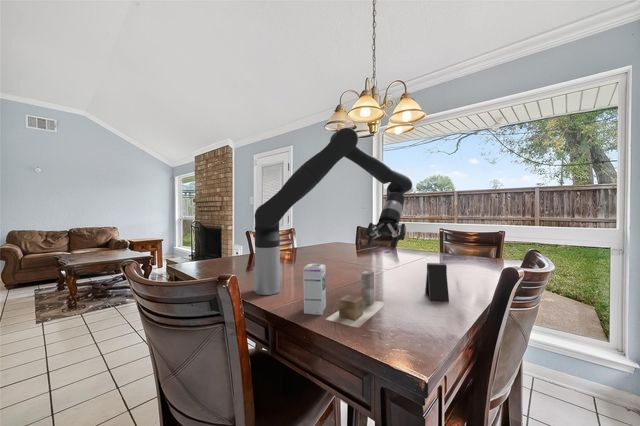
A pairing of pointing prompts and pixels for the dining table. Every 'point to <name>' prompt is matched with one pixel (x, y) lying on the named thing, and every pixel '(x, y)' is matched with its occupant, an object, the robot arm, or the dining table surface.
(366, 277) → the pale base with post
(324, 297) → the syrup box
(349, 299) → the walnut block
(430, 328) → the dining table surface
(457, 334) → the dining table surface
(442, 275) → the door stopper
